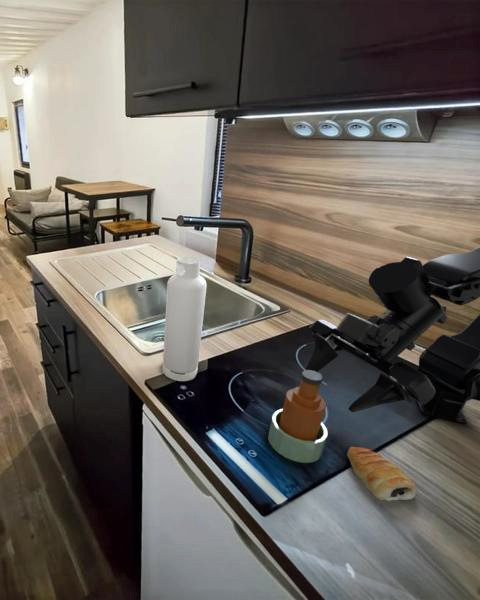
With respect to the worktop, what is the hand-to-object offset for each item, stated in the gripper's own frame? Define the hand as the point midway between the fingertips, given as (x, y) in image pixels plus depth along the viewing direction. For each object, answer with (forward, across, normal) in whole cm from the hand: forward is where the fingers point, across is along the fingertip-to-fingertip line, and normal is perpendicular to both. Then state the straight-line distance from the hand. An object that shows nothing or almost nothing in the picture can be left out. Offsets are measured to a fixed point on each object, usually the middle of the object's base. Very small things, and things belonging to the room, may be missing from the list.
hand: (326, 392), depth 62 cm
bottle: (+17, -26, -1) cm, 31 cm away
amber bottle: (+10, 0, +5) cm, 11 cm away
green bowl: (+11, 0, +5) cm, 12 cm away
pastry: (+6, +10, +10) cm, 15 cm away
